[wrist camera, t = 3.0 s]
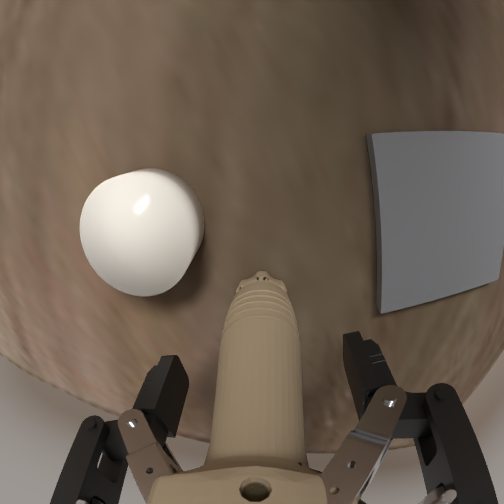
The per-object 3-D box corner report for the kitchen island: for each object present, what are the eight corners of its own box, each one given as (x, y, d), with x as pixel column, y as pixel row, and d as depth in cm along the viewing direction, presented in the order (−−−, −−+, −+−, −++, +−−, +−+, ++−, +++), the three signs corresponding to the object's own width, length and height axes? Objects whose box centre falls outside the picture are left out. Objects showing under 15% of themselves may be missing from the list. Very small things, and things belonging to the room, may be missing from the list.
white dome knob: (96, 184, 17) (66, 195, 14) (190, 155, 16) (172, 159, 13) (126, 277, 19) (104, 301, 16) (216, 261, 18) (207, 288, 15)
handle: (211, 256, 18) (121, 495, 4) (312, 257, 18) (387, 501, 4) (216, 318, 20) (167, 529, 6) (306, 320, 20) (339, 534, 6)
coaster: (365, 134, 15) (371, 133, 14) (497, 132, 14) (505, 133, 13) (376, 306, 19) (380, 313, 18) (491, 274, 18) (498, 279, 17)
